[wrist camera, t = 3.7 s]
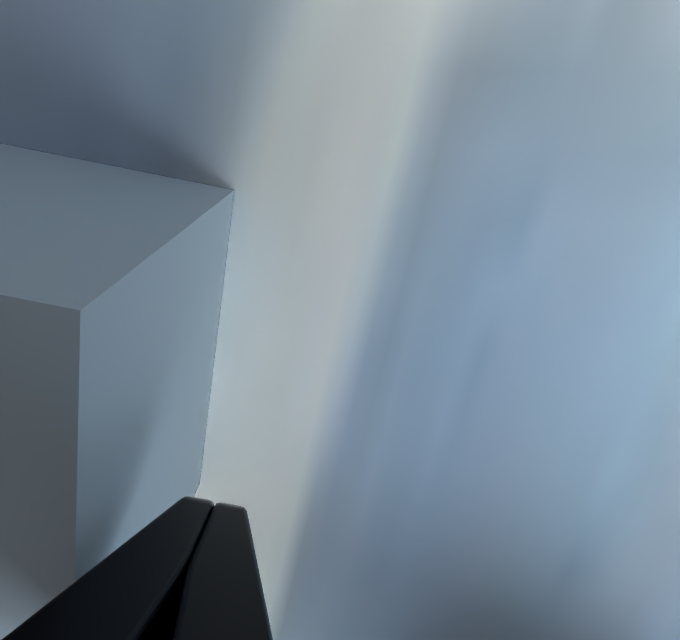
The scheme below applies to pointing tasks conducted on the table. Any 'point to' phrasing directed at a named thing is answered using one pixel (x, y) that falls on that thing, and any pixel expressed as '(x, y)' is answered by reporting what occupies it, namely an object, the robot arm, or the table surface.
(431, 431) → the table surface
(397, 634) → the table surface
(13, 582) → the block
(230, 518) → the robot arm
